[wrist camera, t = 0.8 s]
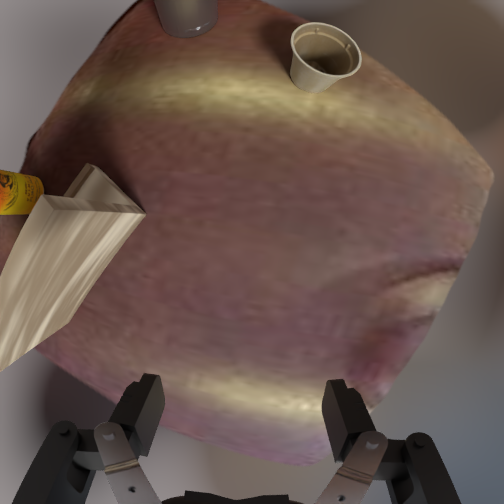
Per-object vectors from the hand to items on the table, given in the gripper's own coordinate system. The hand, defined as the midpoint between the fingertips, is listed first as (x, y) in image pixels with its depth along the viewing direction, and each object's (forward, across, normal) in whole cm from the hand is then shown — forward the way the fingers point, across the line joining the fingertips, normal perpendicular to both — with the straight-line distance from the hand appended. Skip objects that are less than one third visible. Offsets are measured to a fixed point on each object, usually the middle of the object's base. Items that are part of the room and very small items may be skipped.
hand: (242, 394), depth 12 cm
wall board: (+25, +25, -1) cm, 35 cm away
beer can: (+25, +35, -9) cm, 44 cm away
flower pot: (+31, -8, -26) cm, 42 cm away
